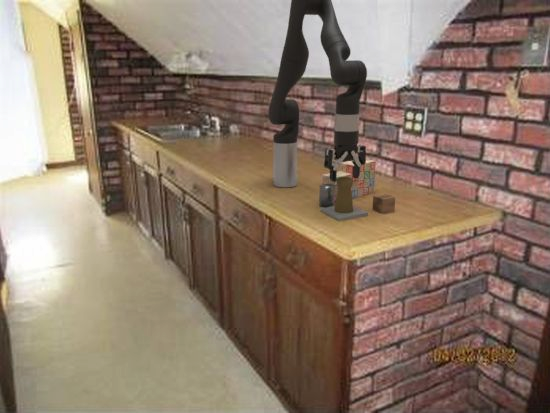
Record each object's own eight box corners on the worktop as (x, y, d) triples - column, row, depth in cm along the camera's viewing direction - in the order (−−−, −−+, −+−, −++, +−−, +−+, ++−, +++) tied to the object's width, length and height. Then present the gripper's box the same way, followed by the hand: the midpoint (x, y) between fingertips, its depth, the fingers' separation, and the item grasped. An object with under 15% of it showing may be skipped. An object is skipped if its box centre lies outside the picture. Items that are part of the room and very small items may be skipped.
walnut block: (372, 210, 156) (373, 195, 155) (384, 207, 159) (385, 193, 157) (382, 214, 152) (383, 199, 151) (394, 211, 155) (395, 197, 153)
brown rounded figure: (356, 211, 151) (358, 178, 148) (339, 214, 149) (340, 180, 146) (347, 206, 157) (348, 174, 153) (331, 208, 155) (332, 176, 151)
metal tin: (316, 204, 163) (316, 185, 161) (328, 202, 165) (329, 183, 163) (324, 208, 158) (324, 188, 156) (336, 206, 161) (337, 186, 158)
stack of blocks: (333, 203, 164) (334, 169, 160) (321, 200, 168) (321, 166, 165) (374, 192, 176) (376, 160, 173) (361, 189, 181) (363, 157, 177)
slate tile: (320, 211, 155) (320, 208, 155) (347, 206, 160) (347, 203, 160) (339, 221, 146) (339, 218, 146) (368, 215, 151) (368, 212, 151)
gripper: (358, 125, 151) (355, 174, 156) (320, 128, 145) (319, 179, 150) (372, 128, 145) (369, 179, 150) (334, 132, 139) (332, 185, 144)
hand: (344, 179), depth 150 cm, fingers open, 8 cm apart
